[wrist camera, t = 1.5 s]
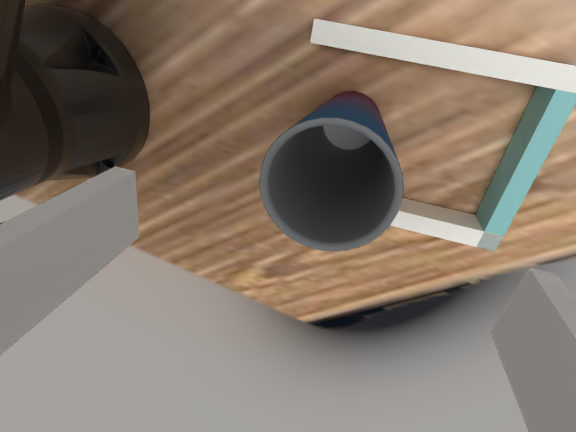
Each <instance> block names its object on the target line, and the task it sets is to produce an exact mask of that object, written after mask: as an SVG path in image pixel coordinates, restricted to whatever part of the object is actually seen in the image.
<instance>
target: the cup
mask: <svg viewBox="0 0 576 432" xmlns="http://www.w3.org/2000/svg"><path fill="white" fill-rule="evenodd" d="M259 181H260V193H261V197H262V200H263V204H264V206H265V208H266V210H267V212H268V214H269V216H270V218H271V219H272V220H273V222H274V223H275V224H276V226H277V227H278V228H279V229H280V230H281V231H282V232H284V233H285V234H286V235H287V236H289V237H290V238H292V239H293V240H295V241H296V242H298V243H300V244H303V245H305V246H307V247H310V248H314V249H318V250H323V251H346V250H350V249H354V248H358V247H361V246H363V245H365V244H367V243H370V242H371V241H373V240H374V239H376V238H377V237H378V236H380V235H381V234H382V233H383V232H384V231H385V230H386V229H387V228H388V227H389V226H390V225H391V223H392V222H393V220H394V218H395V217H396V215H397V214H398V211H399V208H400V205H401V202H402V197H403V189H404V186H403V176H402V171H401V168H400V165H399V162H398V159H397V157H396V154H395V151H394V149H393V146H392V144H391V141H390V138H389V136H388V133H387V130H386V128H385V125H384V123H383V120H382V117H381V115H380V112H379V110H378V107H377V106H376V104H375V103H374V102H373V100H372V99H371V98H369V97H368V96H366V95H365V94H362V93H360V92H355V91H348V92H343V93H340V94H338V95H336V96H335V97H333V98H332V99H330V100H329V101H327V102H326V103H325V104H323V105H322V106H320V107H319V108H318V109H316V110H315V111H313V112H312V113H311V114H309V115H308V116H306V117H305V118H303V119H302V120H301V121H299V122H298V123H296V124H295V125H294V126H292V127H291V128H289V129H288V130H287V131H285V132H284V133H282V134H281V135H280V136H279V137H278V138H277V140H276V141H275V142H274V143H273V144H272V145H271V147H270V149H269V150H268V152H267V153H266V155H265V158H264V161H263V163H262V166H261V172H260V180H259Z"/></svg>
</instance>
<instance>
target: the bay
mask: <svg viewBox="0 0 576 432" xmlns="http://www.w3.org/2000/svg"><path fill="white" fill-rule="evenodd" d="M310 43H315V44H320V45H325V46H330V47H336V48H341V49H346V50H352V51H357V52H362V53H367V54H373V55H378V56H383V57H388V58H394V59H399V60H404V61H409V62H415V63H420V64H425V65H430V66H436V67H441V68H446V69H452V70H457V71H462V72H467V73H473V74H478V75H483V76H488V77H494V78H499V79H504V80H509V81H515V82H520V83H525V84H530V85H536V86H537V87H536V89H535V91H534V93H533V95H532V98H531V100H530V102H529V104H528V106H527V108H526V110H525V112H524V114H523V116H522V118H521V120H520V123H519V125H518V127H517V129H516V131H515V133H514V135H513V137H512V139H511V141H510V143H509V146H508V148H507V150H506V152H505V154H504V156H503V158H502V160H501V162H500V164H499V166H498V168H497V171H496V173H495V175H494V177H493V179H492V181H491V183H490V185H489V187H488V189H487V191H486V193H485V196H484V198H483V200H482V202H481V204H480V206H479V208H478V210H477V212H476V214H475V215H473V214H469V213H465V212H460V211H456V210H452V209H448V208H444V207H439V206H435V205H431V204H427V203H422V202H418V201H414V200H410V199H406V198H402V202H401V205H400V208H399V211H398V214H397V215H396V217H395V218H394V220H393V222H392V223H391V225H390V226H394V227H398V228H402V229H406V230H410V231H414V232H418V233H422V234H426V235H430V236H434V237H438V238H442V239H446V240H450V241H454V242H458V243H463V244H467V245H471V246H475V247H479V248H483V249H487V250H491V251H496V249H497V247H498V246H499V244H500V242H501V240H502V238H503V236H504V235H505V233H506V231H507V229H508V227H509V225H510V224H511V222H512V220H513V218H514V216H515V214H516V212H517V211H518V209H519V207H520V205H521V203H522V201H523V200H524V198H525V196H526V194H527V192H528V190H529V189H530V187H531V185H532V183H533V181H534V179H535V177H536V176H537V174H538V172H539V170H540V168H541V166H542V165H543V163H544V161H545V159H546V157H547V155H548V154H549V152H550V150H551V148H552V146H553V144H554V142H555V141H556V139H557V137H558V135H559V133H560V131H561V130H562V128H563V126H564V124H565V122H566V120H567V119H568V117H569V115H570V113H571V111H572V109H573V107H574V106H575V104H576V66H573V65H567V64H562V63H556V62H551V61H545V60H540V59H534V58H529V57H523V56H518V55H512V54H507V53H501V52H496V51H490V50H485V49H479V48H474V47H468V46H463V45H457V44H452V43H446V42H441V41H435V40H429V39H424V38H418V37H413V36H407V35H402V34H396V33H391V32H385V31H380V30H374V29H369V28H363V27H358V26H352V25H347V24H341V23H336V22H330V21H325V20H319V19H314V23H313V29H312V35H311V40H310Z"/></svg>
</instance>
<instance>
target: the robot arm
mask: <svg viewBox="0 0 576 432" xmlns="http://www.w3.org/2000/svg"><path fill="white" fill-rule="evenodd" d="M24 5H25V0H0V200H3V199H5V198H7V197H9V196H12V195H14V194H16V193H19V192H21V191H23V190H25V189H28V188H30V187H32V186H34V185H36V184H39V183H41V182H43V181H46V180H61V179H77V178H91V179H89V180H87V181H85V182H83V183H81V184H79V185H77V186H75V187H73V188H71V189H69V190H67V191H65V192H63V193H61V194H59V195H57V196H55V197H54V198H52V199H50V200H48V201H46V202H44V203H42V204H40V205H38V206H36V207H34V208H32V209H30V210H28V211H26V212H24V213H22V214H20V215H18V216H16V217H14V218H12V219H10V220H8V221H6V222H3V223H0V355H1V354H3V353H4V352H5V351H6V350H7V349H9V348H10V347H11V346H12V345H13V344H14V343H16V342H17V341H18V340H19V339H20V338H21V337H23V336H24V335H25V334H26V333H27V332H28V331H30V330H31V329H32V328H33V327H34V326H35V325H37V324H38V323H39V322H40V321H41V320H43V319H44V318H45V317H46V316H47V315H48V314H50V313H51V312H52V311H53V310H54V309H55V308H57V307H58V306H59V305H60V304H61V303H62V302H64V301H65V300H66V299H67V298H68V297H70V295H72V294H73V293H74V292H75V291H77V290H78V289H79V288H80V287H81V286H83V285H84V284H85V283H86V282H87V281H88V280H90V279H91V278H92V277H93V276H94V275H95V274H97V273H98V272H99V271H100V270H101V269H103V267H105V266H106V265H107V264H108V263H109V262H110V261H112V260H113V259H114V258H115V257H116V256H118V255H119V254H120V253H121V252H122V251H124V250H125V249H126V248H127V247H128V246H130V245H131V244H132V243H133V242H134V241H135V240H137V239H138V238H139V224H138V207H137V191H136V174H135V171H132V170H128V169H124V168H120V167H122V166H124V165H126V164H128V163H129V162H130V161H131V160H133V159H134V158H135V157H136V155H137V154H138V153H139V151H140V150H141V148H142V146H143V144H144V142H145V139H146V136H147V132H148V126H149V105H148V99H147V94H146V90H145V86H144V83H143V80H142V78H141V75H140V73H139V71H138V69H137V67H136V65H135V63H134V61H133V59H132V58H131V56H130V55H129V53H128V52H127V50H126V49H125V47H124V46H123V45H122V43H121V42H120V41H119V40H118V39H117V38H116V37H115V36H114V35H113V34H112V33H111V32H110V31H109V30H108V29H107V28H106V27H105V26H103V25H102V24H101V23H100V22H98V21H97V20H95V19H94V18H92V17H90V16H89V15H87V14H85V13H83V12H80V11H78V10H75V9H72V8H68V7H62V6H51V5H27V6H24ZM92 177H93V178H92ZM491 335H492V337H493V340H494V342H495V345H496V348H497V350H498V353H499V355H500V358H501V361H502V364H503V366H504V369H505V371H506V374H507V377H508V379H509V382H510V384H511V387H512V389H513V392H514V395H515V398H516V400H517V403H518V405H519V408H520V411H521V413H522V416H523V419H524V421H525V424H526V426H527V429H528V432H576V300H575V299H574V298H573V296H572V295H571V294H570V292H569V291H568V290H567V289H566V287H565V286H564V284H563V283H562V282H561V280H560V279H559V278H558V276H557V275H556V274H553V273H549V272H544V271H541V270H536V269H532V268H529V269H528V271H527V273H526V274H525V276H524V278H523V279H522V281H521V282H520V284H519V286H518V287H517V289H516V291H515V292H514V294H513V296H512V297H511V299H510V301H509V302H508V304H507V306H506V307H505V309H504V310H503V312H502V314H501V315H500V317H499V319H498V320H497V322H496V323H495V325H494V327H493V328H492V330H491Z"/></svg>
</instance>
